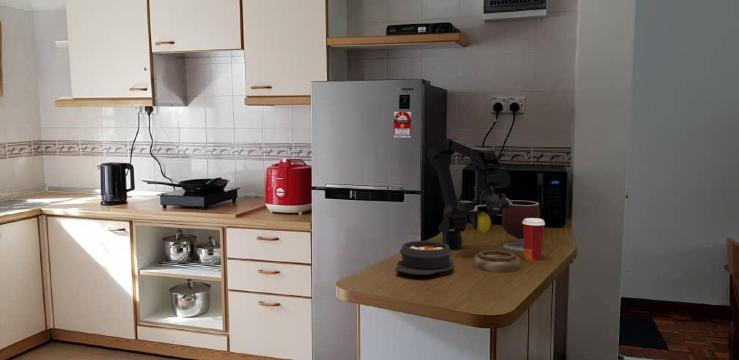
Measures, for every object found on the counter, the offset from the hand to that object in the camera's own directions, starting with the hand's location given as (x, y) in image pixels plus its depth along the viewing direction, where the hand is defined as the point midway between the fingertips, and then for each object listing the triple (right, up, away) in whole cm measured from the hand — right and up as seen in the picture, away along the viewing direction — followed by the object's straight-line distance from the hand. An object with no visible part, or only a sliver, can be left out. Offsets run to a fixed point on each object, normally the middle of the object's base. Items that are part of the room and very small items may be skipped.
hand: (482, 228), depth 224 cm
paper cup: (+17, -11, -2) cm, 20 cm away
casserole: (-22, -12, -18) cm, 31 cm away
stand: (+2, -12, -13) cm, 17 cm away
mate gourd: (+16, -9, +17) cm, 25 cm away
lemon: (0, -2, 0) cm, 2 cm away
